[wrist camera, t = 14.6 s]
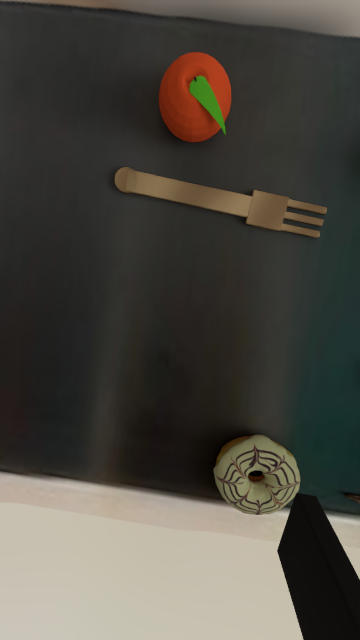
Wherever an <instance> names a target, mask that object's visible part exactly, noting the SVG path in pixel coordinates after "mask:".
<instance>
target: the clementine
mask: <svg viewBox="0 0 360 640" xmlns="http://www.w3.org/2000/svg"><path fill="white" fill-rule="evenodd" d="M230 105H231V86H230V82H229V78H228V76H227V74H226V72H225V70H224V69H223V67H222V66H221V65H220V64H219V62H218V61H217V60H216V59H215V58H213V57H211V56H209V55H208V54H205V53H200V52H193V53H188V54H185V55H183V56H180V57H179V58H178V59H177V60H175V61H174V62H173V63H172V64H171V66H170V67H169V68H168V70H167V71H166V72H165V74H164V77H163V79H162V81H161V85H160V91H159V107H160V112H161V115H162V118H163V120H164V122H165V124H166V125H167V127H168V129H169V130H170V131H171V132H172V133H173V134H174V135H175V136H176V137H178V138H180V139H182V140H184V141H188V142H201V141H204V140H206V139H209V138H210V137H212V136H213V135H215V134H216V133H217V132H218V131H219V129H220V128H222V130H223V132H224V134H225V124H224V122H225V120H226V118H227V116H228V114H229V110H230ZM225 136H226V134H225Z"/></svg>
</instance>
